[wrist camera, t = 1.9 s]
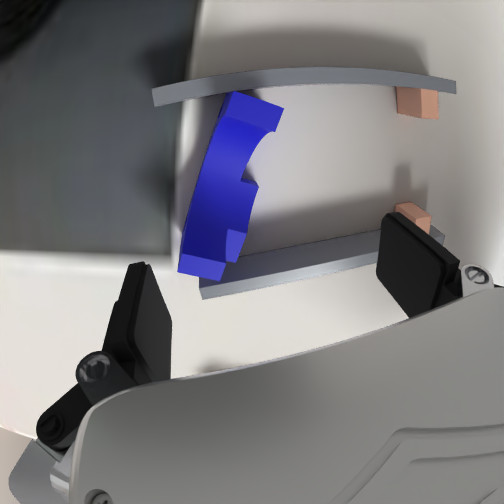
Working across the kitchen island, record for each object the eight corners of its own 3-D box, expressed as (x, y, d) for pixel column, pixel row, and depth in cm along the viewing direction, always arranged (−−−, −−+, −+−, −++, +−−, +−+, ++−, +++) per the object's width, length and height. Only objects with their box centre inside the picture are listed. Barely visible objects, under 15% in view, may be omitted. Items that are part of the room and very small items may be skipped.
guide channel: (430, 78, 20) (455, 81, 17) (423, 230, 28) (442, 245, 25) (159, 90, 18) (151, 89, 15) (201, 275, 26) (202, 299, 24)
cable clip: (232, 244, 26) (240, 285, 20) (182, 232, 24) (177, 272, 19) (281, 112, 20) (307, 117, 15) (226, 93, 19) (233, 90, 14)
